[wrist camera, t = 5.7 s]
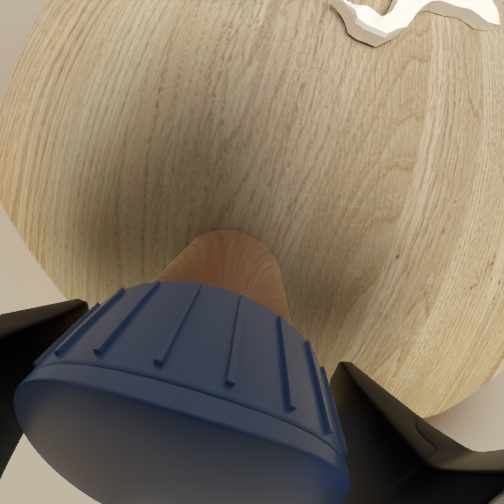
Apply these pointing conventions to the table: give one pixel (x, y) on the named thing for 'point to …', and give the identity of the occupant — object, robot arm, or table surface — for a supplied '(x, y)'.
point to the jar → (232, 267)
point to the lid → (186, 403)
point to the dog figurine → (411, 16)
